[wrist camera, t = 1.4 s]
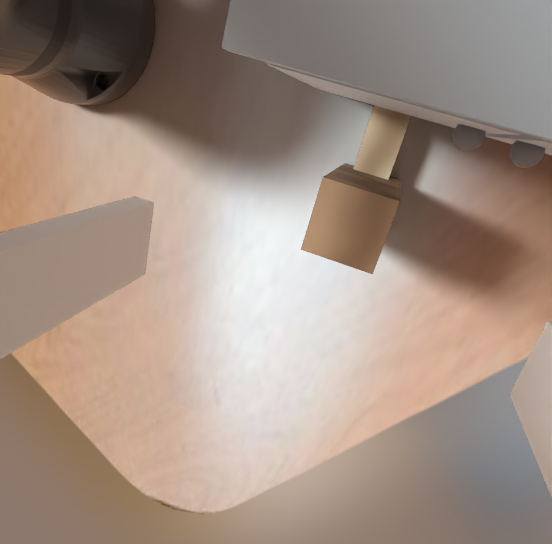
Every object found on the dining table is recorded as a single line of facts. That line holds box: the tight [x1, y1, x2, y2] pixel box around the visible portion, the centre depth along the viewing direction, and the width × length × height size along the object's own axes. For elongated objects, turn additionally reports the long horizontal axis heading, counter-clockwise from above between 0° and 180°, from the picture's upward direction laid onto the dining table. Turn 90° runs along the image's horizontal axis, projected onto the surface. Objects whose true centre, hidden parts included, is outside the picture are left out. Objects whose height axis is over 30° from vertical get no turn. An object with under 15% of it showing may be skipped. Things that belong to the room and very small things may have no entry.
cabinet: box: [221, 0, 552, 168], centre depth 23 cm, size 25×16×22 cm, turn 75°
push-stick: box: [301, 105, 411, 274], centre depth 31 cm, size 5×20×12 cm, turn 165°
